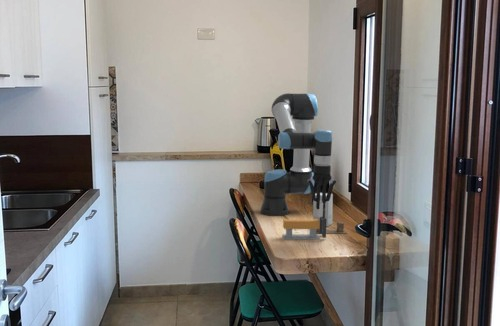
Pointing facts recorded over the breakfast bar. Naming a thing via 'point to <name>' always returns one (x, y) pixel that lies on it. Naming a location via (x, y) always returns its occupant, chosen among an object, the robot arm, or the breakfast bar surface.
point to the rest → (335, 231)
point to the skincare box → (327, 209)
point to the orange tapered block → (301, 224)
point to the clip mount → (300, 235)
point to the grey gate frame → (323, 225)
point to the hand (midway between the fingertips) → (320, 216)
